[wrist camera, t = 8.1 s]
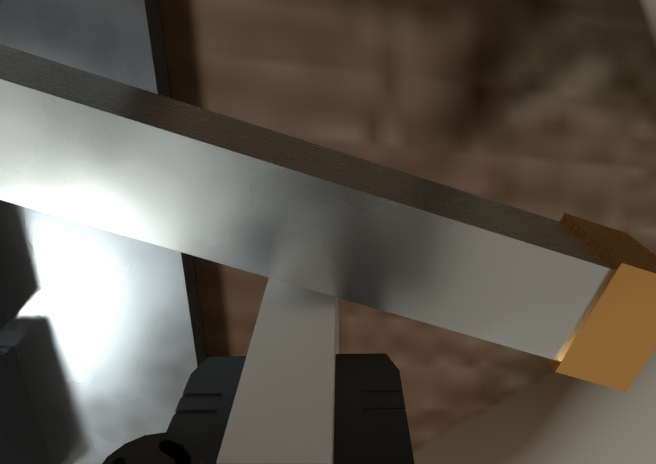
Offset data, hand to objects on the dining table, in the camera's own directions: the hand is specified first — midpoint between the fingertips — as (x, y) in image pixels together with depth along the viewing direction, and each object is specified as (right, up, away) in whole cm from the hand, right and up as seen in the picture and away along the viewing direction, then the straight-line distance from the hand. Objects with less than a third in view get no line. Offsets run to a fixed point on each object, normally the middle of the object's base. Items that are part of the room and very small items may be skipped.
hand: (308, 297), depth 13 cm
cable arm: (-4, +4, -2) cm, 6 cm away
